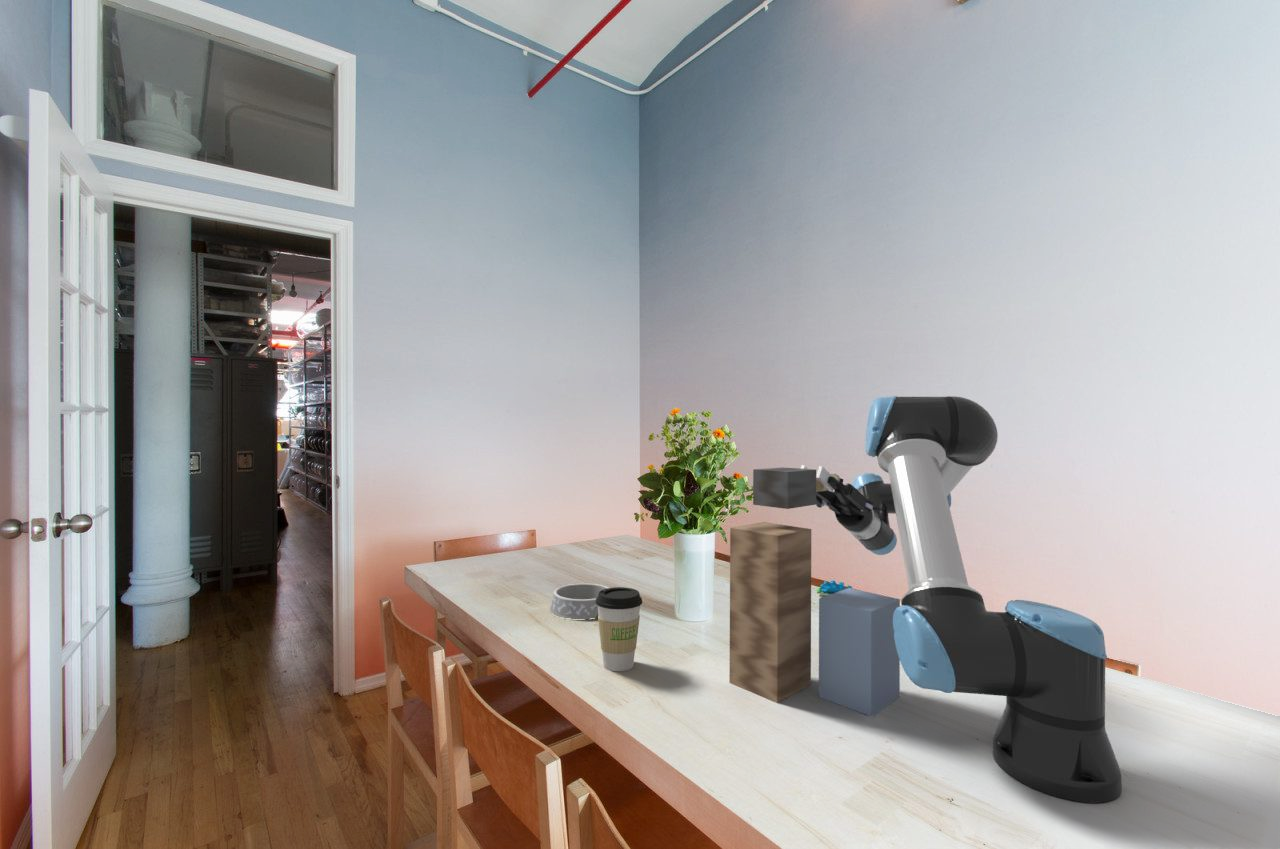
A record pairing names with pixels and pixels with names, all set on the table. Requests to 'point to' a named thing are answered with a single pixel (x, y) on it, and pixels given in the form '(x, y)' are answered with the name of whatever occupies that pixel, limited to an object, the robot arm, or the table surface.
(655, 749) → the table surface
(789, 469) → the rubber mallet
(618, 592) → the coffee cup
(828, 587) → the blue knobbly piece
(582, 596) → the dog bowl
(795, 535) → the walnut pedestal
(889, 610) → the slate stand
